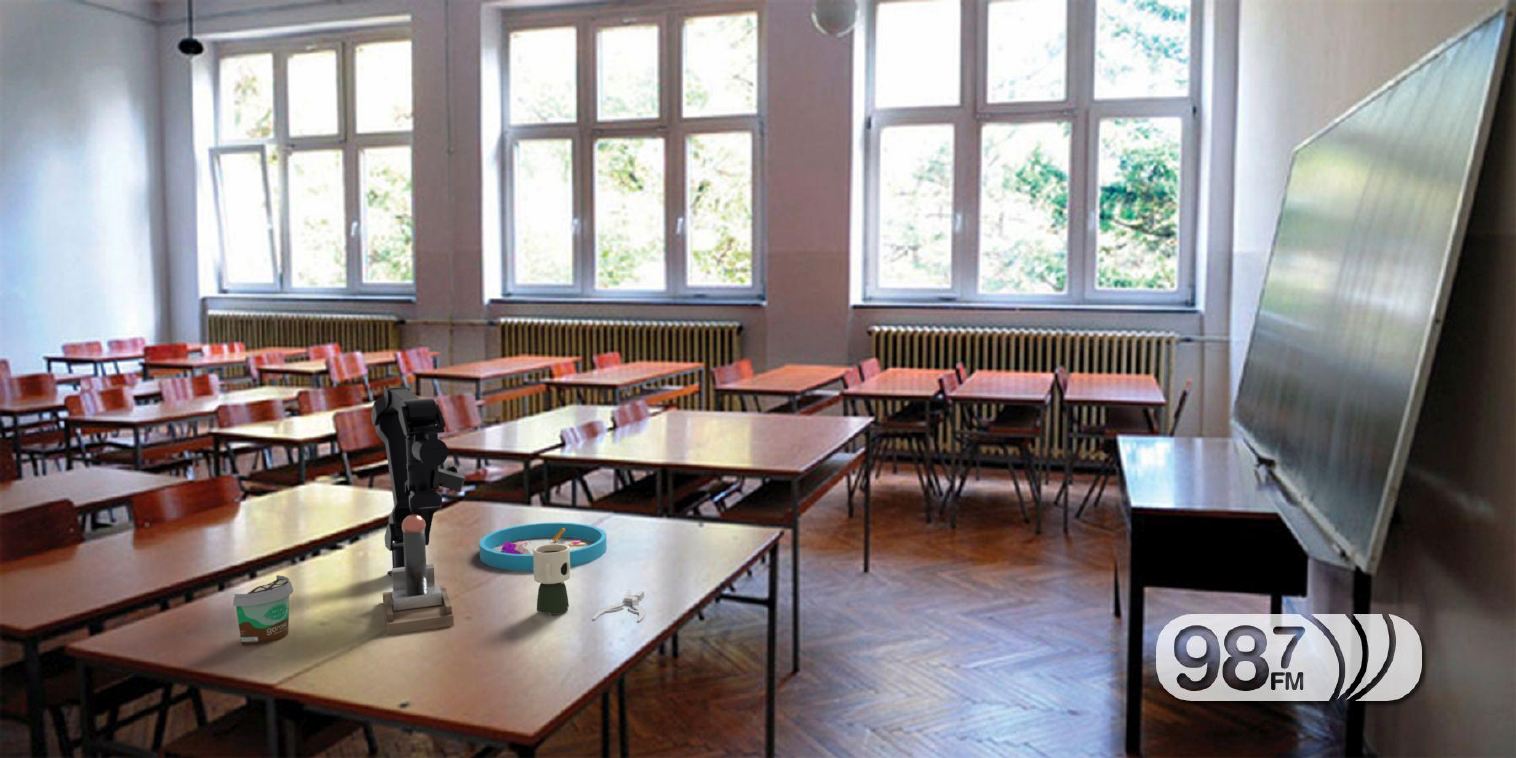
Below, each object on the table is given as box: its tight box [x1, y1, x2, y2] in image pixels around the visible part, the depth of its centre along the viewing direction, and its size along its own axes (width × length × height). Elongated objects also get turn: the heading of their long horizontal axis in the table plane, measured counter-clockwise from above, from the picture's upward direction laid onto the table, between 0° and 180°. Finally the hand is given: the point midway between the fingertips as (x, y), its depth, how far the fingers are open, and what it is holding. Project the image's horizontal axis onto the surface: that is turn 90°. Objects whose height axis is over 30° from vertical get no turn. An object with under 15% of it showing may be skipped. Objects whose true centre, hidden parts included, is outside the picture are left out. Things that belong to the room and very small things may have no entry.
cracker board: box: [382, 563, 455, 635], centre depth 195 cm, size 20×12×7 cm, turn 23°
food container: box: [232, 574, 294, 647], centre depth 183 cm, size 12×6×10 cm, turn 168°
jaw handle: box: [391, 514, 442, 611], centre depth 193 cm, size 5×9×18 cm, turn 113°
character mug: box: [532, 543, 571, 616], centre depth 195 cm, size 11×7×13 cm, turn 2°
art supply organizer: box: [478, 521, 608, 572], centre depth 238 cm, size 30×30×6 cm
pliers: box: [592, 589, 646, 623], centre depth 198 cm, size 10×2×15 cm
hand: (424, 532), depth 207 cm, fingers open, 9 cm apart
